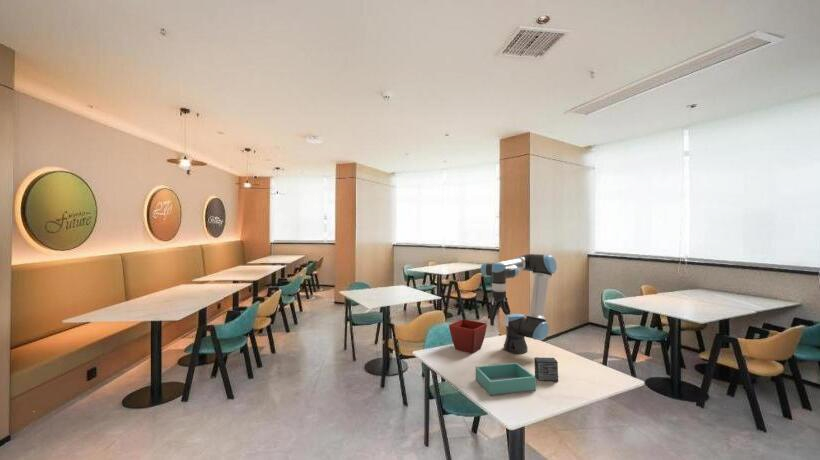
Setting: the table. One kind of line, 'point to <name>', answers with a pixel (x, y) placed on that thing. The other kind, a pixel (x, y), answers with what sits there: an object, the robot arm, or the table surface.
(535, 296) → the robot arm
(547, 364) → the small box
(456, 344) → the plant pot
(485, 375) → the bin
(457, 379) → the table surface
